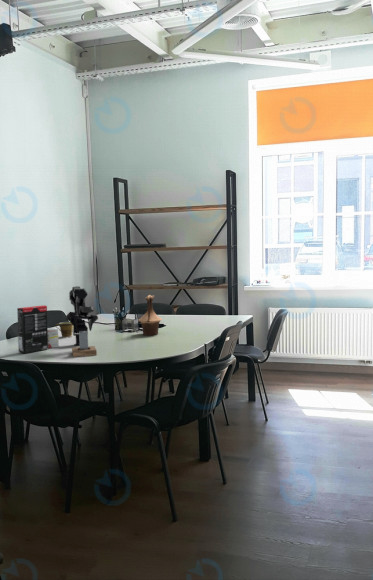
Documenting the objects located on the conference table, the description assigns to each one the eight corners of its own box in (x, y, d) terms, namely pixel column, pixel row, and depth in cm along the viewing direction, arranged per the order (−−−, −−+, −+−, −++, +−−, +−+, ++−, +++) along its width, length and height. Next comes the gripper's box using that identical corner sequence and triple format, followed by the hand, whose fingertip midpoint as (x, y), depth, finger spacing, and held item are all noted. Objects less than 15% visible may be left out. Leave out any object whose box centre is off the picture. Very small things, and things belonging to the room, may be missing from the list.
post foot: (72, 352, 294) (71, 347, 293) (94, 351, 297) (94, 346, 297) (73, 357, 281) (73, 351, 281) (96, 355, 285) (96, 349, 284)
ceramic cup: (76, 335, 356) (75, 321, 356) (71, 338, 346) (71, 323, 346) (58, 335, 358) (57, 321, 357) (53, 338, 348) (52, 324, 347)
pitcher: (161, 336, 344) (160, 295, 341) (137, 336, 344) (135, 296, 342) (163, 332, 361) (162, 293, 359) (140, 332, 362) (138, 294, 359)
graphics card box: (42, 348, 310) (40, 304, 308) (49, 349, 306) (47, 305, 304) (18, 353, 297) (15, 307, 295) (24, 354, 293) (22, 308, 291)
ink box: (44, 348, 310) (43, 329, 309) (44, 347, 315) (43, 328, 314) (58, 347, 313) (58, 328, 312) (58, 345, 317) (57, 327, 317)
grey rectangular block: (80, 353, 291) (79, 331, 290) (87, 352, 292) (86, 330, 291) (80, 355, 286) (79, 332, 285) (88, 354, 287) (87, 332, 286)
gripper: (72, 298, 295) (75, 322, 287) (100, 302, 306) (103, 325, 299) (64, 307, 302) (66, 330, 295) (92, 311, 313) (95, 333, 306)
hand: (83, 329), depth 298 cm, fingers open, 9 cm apart
